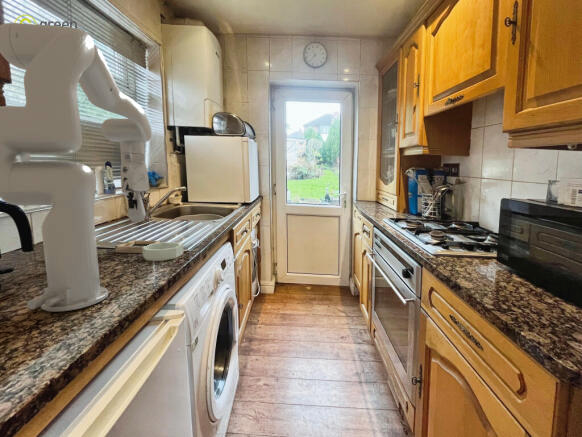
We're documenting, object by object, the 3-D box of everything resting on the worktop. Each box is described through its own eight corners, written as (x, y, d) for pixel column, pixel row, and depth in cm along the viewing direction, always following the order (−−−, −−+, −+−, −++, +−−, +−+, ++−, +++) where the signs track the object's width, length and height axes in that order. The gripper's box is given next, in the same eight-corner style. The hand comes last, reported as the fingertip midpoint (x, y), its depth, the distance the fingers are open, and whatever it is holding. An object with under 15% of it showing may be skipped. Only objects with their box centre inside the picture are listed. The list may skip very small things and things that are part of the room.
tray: (144, 254, 105) (143, 247, 105) (115, 253, 106) (114, 246, 106) (161, 247, 116) (160, 241, 115) (134, 246, 117) (134, 240, 117)
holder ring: (171, 261, 96) (170, 250, 96) (136, 260, 97) (135, 249, 97) (187, 252, 108) (187, 242, 107) (156, 251, 109) (156, 242, 109)
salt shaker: (138, 222, 106) (136, 185, 104) (124, 221, 107) (121, 185, 106) (149, 220, 112) (147, 185, 110) (136, 219, 113) (133, 185, 111)
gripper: (128, 157, 98) (132, 212, 101) (155, 160, 114) (158, 208, 117) (107, 157, 99) (111, 212, 101) (137, 160, 115) (140, 207, 118)
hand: (136, 209), depth 109 cm, fingers closed on salt shaker, 3 cm apart
